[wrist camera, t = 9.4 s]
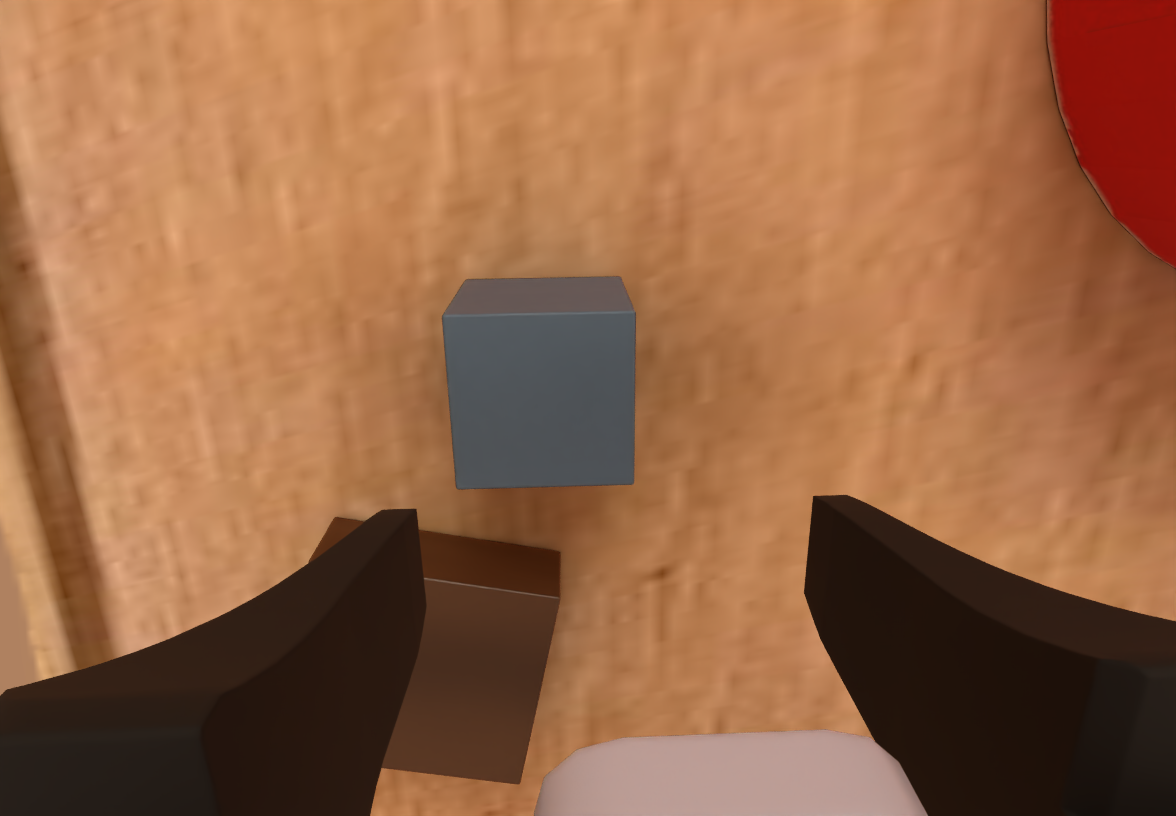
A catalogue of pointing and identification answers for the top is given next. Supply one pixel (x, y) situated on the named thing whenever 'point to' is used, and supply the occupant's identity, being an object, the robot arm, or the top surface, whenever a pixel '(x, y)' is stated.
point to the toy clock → (1121, 107)
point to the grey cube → (541, 382)
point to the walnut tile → (474, 656)
